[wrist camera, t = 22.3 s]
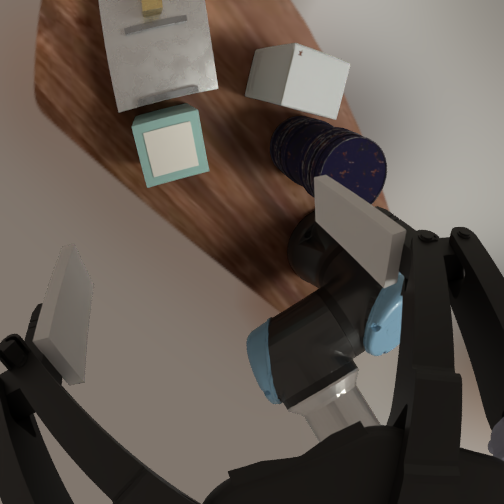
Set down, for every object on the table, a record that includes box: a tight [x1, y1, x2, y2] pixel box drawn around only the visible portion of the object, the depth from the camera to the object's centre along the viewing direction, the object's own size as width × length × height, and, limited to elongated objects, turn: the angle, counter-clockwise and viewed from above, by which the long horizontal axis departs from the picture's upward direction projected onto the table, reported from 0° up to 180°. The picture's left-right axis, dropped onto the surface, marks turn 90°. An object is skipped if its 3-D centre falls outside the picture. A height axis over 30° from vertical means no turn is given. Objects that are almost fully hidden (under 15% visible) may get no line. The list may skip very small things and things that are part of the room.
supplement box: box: [245, 43, 351, 120], centre depth 34 cm, size 7×7×13 cm
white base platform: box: [98, 0, 218, 113], centre depth 27 cm, size 25×12×6 cm, turn 8°
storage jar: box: [270, 116, 387, 204], centre depth 40 cm, size 10×10×15 cm
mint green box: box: [132, 103, 209, 188], centre depth 35 cm, size 7×7×10 cm
